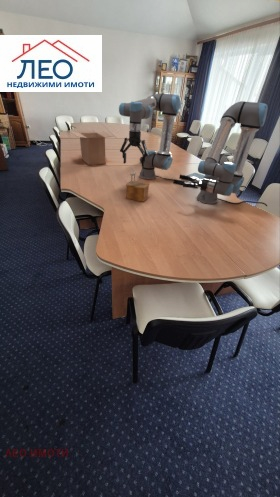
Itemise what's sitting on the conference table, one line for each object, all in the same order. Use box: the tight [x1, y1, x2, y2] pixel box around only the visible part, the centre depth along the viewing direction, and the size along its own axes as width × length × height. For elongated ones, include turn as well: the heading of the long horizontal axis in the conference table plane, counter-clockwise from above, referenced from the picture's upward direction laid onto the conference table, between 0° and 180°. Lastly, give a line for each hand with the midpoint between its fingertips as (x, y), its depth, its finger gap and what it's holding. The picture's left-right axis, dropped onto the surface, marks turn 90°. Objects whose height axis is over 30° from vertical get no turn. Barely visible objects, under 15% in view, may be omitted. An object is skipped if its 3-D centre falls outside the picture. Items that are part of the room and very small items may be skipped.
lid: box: [125, 171, 150, 189], centre depth 159 cm, size 14×10×9 cm
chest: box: [126, 184, 150, 203], centre depth 164 cm, size 14×10×9 cm
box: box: [70, 129, 114, 166], centre depth 229 cm, size 44×36×27 cm
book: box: [180, 172, 205, 182], centre depth 200 cm, size 23×16×5 cm
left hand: (133, 164), depth 154 cm, fingers open, 13 cm apart
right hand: (176, 178), depth 150 cm, fingers open, 13 cm apart
